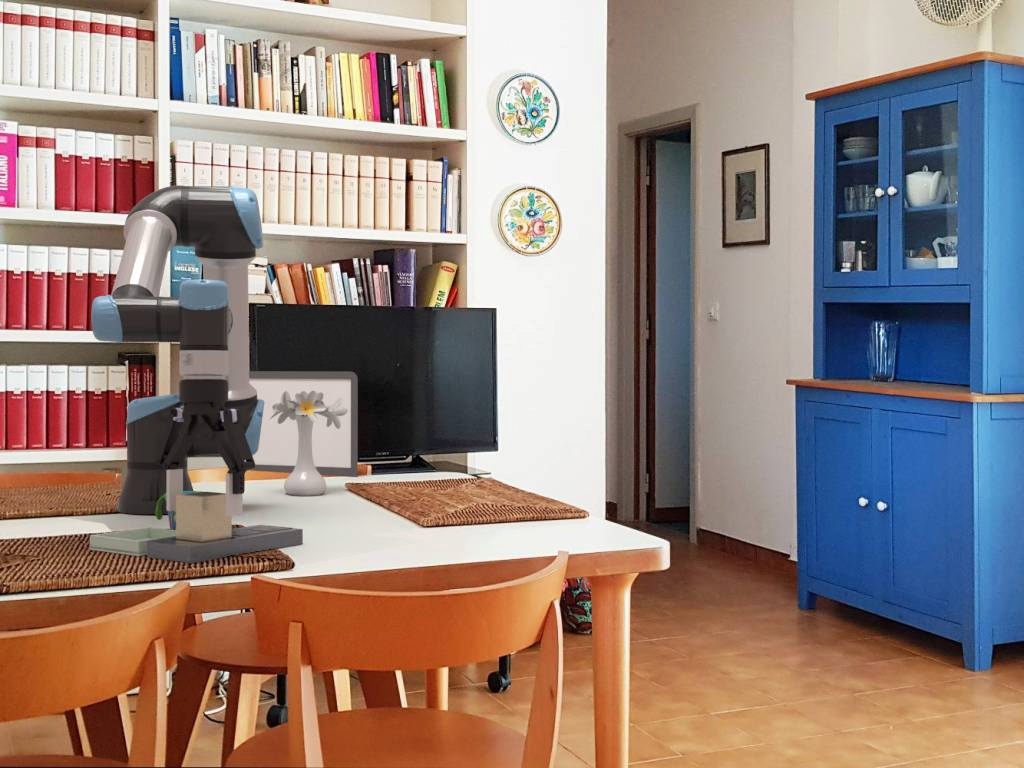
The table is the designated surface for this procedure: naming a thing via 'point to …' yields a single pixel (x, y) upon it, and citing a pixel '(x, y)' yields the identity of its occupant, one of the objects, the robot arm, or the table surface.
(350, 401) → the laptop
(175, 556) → the grey compartment tray
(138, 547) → the parts tray
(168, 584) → the table surface
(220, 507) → the square wooden post
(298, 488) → the flower vase
